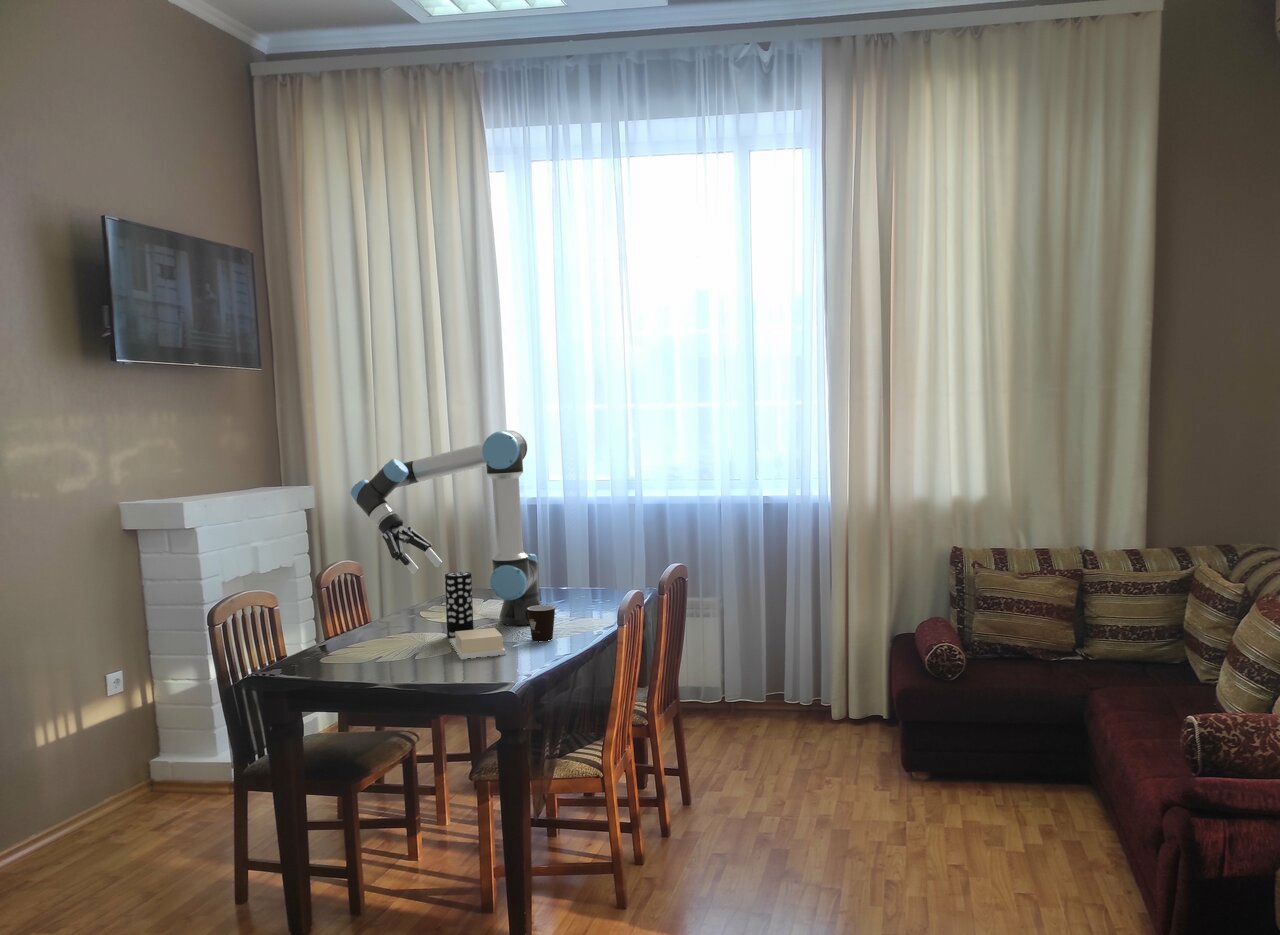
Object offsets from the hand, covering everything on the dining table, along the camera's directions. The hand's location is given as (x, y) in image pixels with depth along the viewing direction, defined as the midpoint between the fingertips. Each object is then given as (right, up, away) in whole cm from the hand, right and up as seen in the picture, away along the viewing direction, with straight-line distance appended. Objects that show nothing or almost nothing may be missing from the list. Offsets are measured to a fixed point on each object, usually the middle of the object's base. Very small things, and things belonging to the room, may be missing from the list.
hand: (427, 568), depth 324 cm
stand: (+19, -22, -20) cm, 35 cm away
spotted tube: (+11, -22, -3) cm, 24 cm away
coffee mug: (+37, -21, -8) cm, 44 cm away
